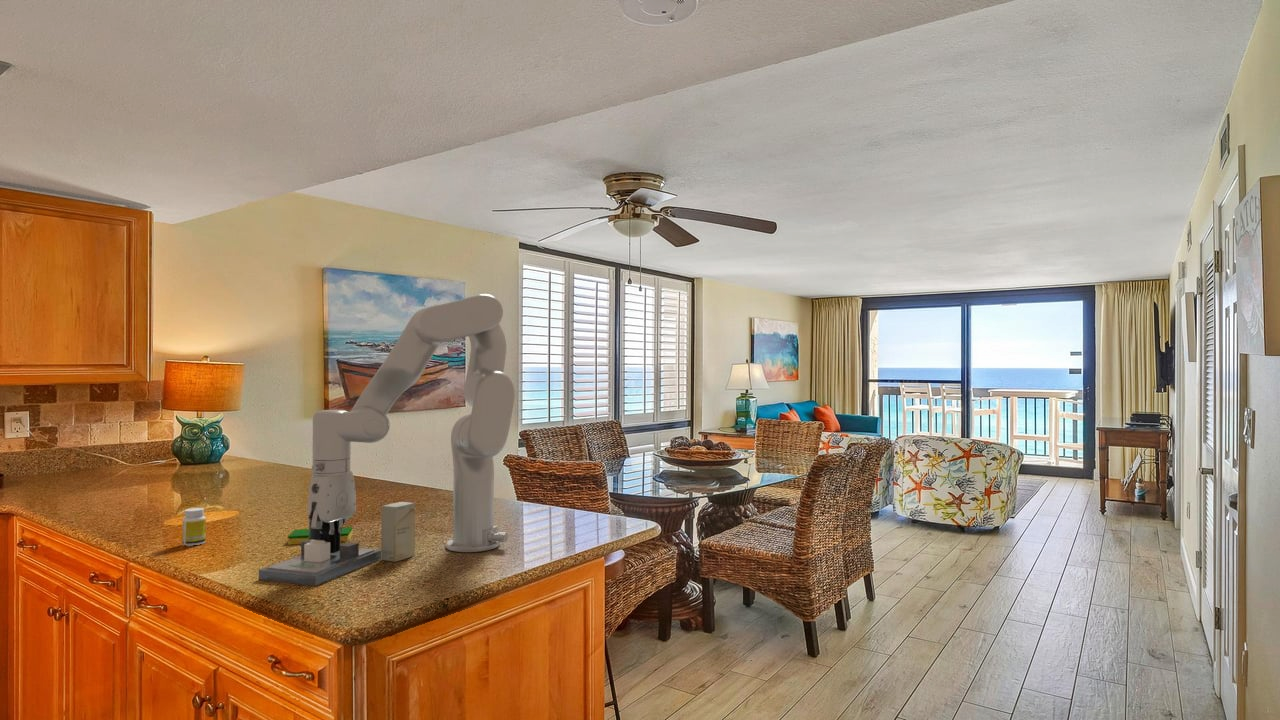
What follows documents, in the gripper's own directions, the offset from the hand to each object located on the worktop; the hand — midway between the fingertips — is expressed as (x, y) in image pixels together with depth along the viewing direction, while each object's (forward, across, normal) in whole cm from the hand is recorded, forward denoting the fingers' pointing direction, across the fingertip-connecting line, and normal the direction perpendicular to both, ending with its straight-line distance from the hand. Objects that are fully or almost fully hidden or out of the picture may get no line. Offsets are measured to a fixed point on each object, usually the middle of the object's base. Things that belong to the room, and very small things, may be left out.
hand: (331, 551), depth 151 cm
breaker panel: (+3, -2, 0) cm, 4 cm away
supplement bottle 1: (+3, +6, +45) cm, 45 cm away
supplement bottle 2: (+3, +10, +10) cm, 14 cm away
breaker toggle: (+1, -4, 0) cm, 4 cm away
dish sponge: (+4, +19, +19) cm, 27 cm away
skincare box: (+3, +10, -10) cm, 14 cm away
